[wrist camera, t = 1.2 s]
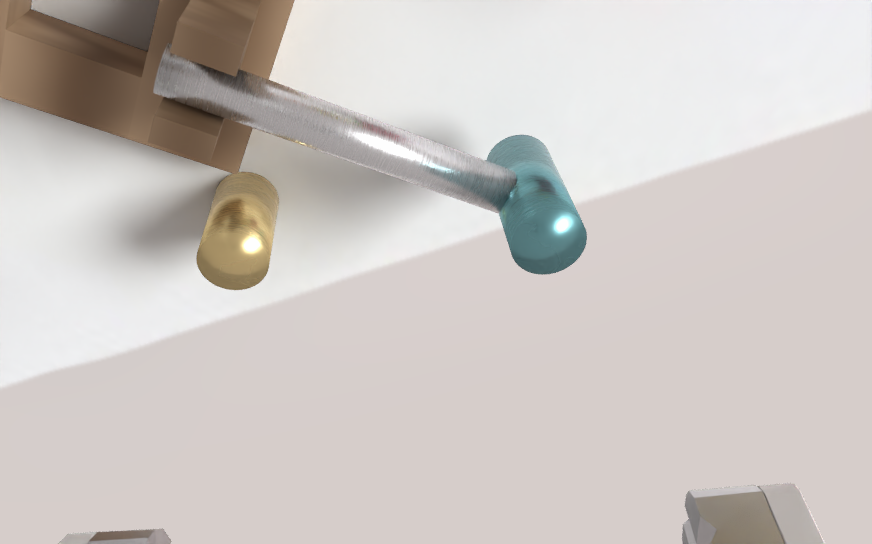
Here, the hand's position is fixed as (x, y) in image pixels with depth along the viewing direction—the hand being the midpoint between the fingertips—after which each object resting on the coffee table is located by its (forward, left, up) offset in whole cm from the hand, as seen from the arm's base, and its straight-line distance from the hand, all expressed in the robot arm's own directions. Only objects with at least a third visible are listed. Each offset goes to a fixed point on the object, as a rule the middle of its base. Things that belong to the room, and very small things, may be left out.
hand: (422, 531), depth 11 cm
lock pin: (+1, -4, -25) cm, 25 cm away
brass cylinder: (-3, -13, -29) cm, 32 cm away
